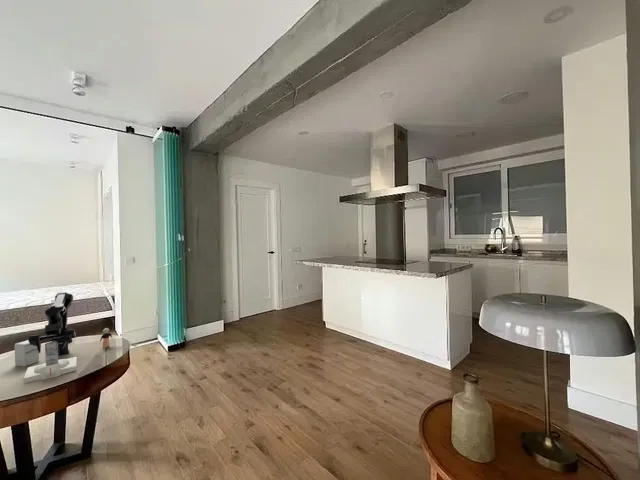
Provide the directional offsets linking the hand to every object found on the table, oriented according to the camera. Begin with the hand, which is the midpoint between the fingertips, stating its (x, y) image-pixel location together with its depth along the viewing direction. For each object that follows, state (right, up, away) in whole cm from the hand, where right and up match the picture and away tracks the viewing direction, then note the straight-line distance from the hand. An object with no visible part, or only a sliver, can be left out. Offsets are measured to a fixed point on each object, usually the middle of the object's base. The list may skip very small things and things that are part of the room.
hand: (50, 350), depth 154 cm
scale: (-1, -12, +1) cm, 12 cm away
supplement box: (-25, -12, +12) cm, 30 cm away
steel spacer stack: (-1, -8, +1) cm, 8 cm away
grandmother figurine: (+5, -11, +34) cm, 36 cm away
